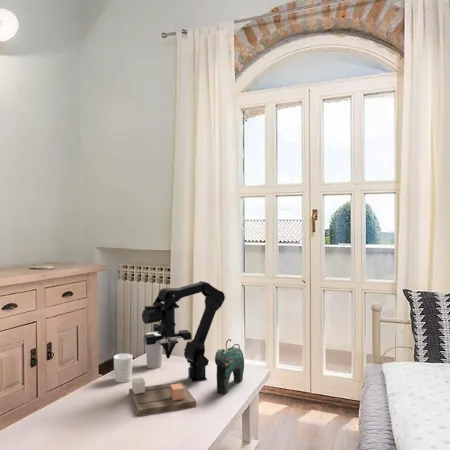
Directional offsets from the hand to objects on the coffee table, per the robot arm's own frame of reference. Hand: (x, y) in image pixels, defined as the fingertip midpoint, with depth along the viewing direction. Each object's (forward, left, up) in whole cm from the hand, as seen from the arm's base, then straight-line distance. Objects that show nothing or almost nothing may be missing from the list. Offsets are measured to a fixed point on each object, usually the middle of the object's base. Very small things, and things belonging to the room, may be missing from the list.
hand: (167, 358), depth 170 cm
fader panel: (+5, +11, -12) cm, 17 cm away
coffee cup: (0, -27, -12) cm, 29 cm away
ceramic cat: (-24, +9, -12) cm, 28 cm away
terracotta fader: (+1, +16, -9) cm, 19 cm away
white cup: (+16, -15, -12) cm, 25 cm away
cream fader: (+13, +5, -10) cm, 17 cm away
